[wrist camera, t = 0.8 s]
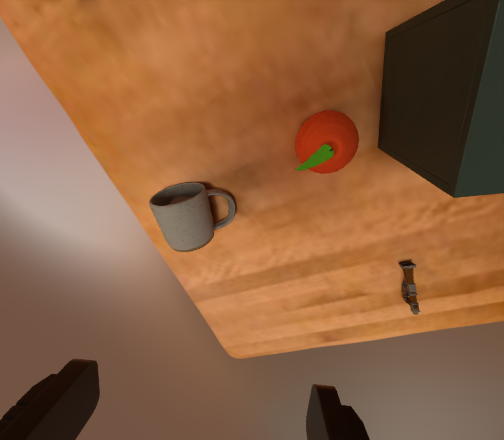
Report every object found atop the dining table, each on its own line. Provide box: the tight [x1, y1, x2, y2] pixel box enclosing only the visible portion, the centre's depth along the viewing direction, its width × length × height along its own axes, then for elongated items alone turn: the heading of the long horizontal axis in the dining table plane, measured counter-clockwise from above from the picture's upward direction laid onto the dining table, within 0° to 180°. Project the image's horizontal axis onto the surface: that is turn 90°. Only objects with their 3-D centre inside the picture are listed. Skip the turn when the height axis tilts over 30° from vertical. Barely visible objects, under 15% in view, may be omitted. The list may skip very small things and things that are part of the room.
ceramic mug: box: [149, 183, 235, 252], centre depth 35 cm, size 11×8×8 cm
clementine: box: [294, 111, 359, 174], centre depth 28 cm, size 8×7×7 cm
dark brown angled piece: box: [399, 262, 420, 315], centre depth 39 cm, size 2×8×4 cm, turn 15°
